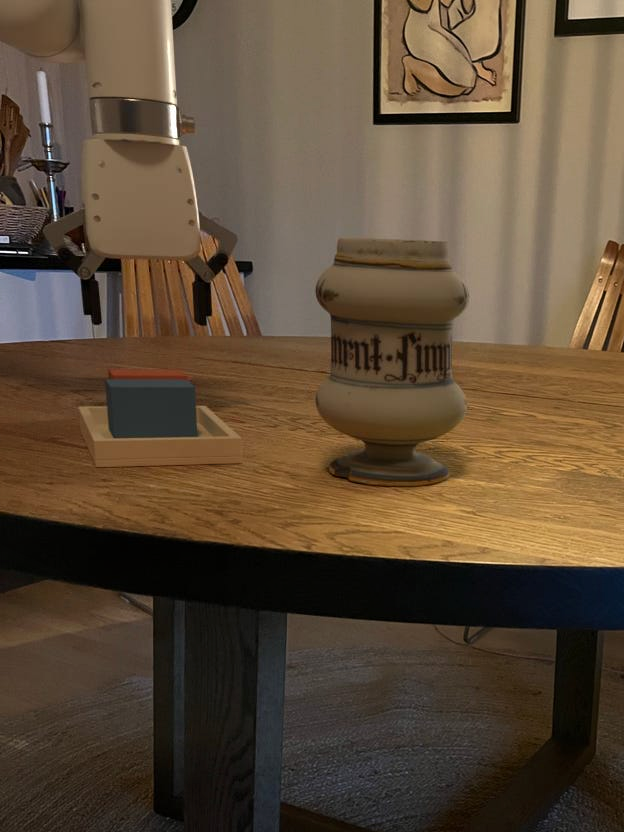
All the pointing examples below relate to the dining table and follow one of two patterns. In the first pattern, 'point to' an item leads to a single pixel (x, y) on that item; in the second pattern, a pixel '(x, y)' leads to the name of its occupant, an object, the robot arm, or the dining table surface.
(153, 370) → the red block
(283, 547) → the dining table surface
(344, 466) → the apothecary jar
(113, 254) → the robot arm
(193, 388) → the blue-gray block
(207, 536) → the dining table surface
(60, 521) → the dining table surface
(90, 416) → the wooden tray
